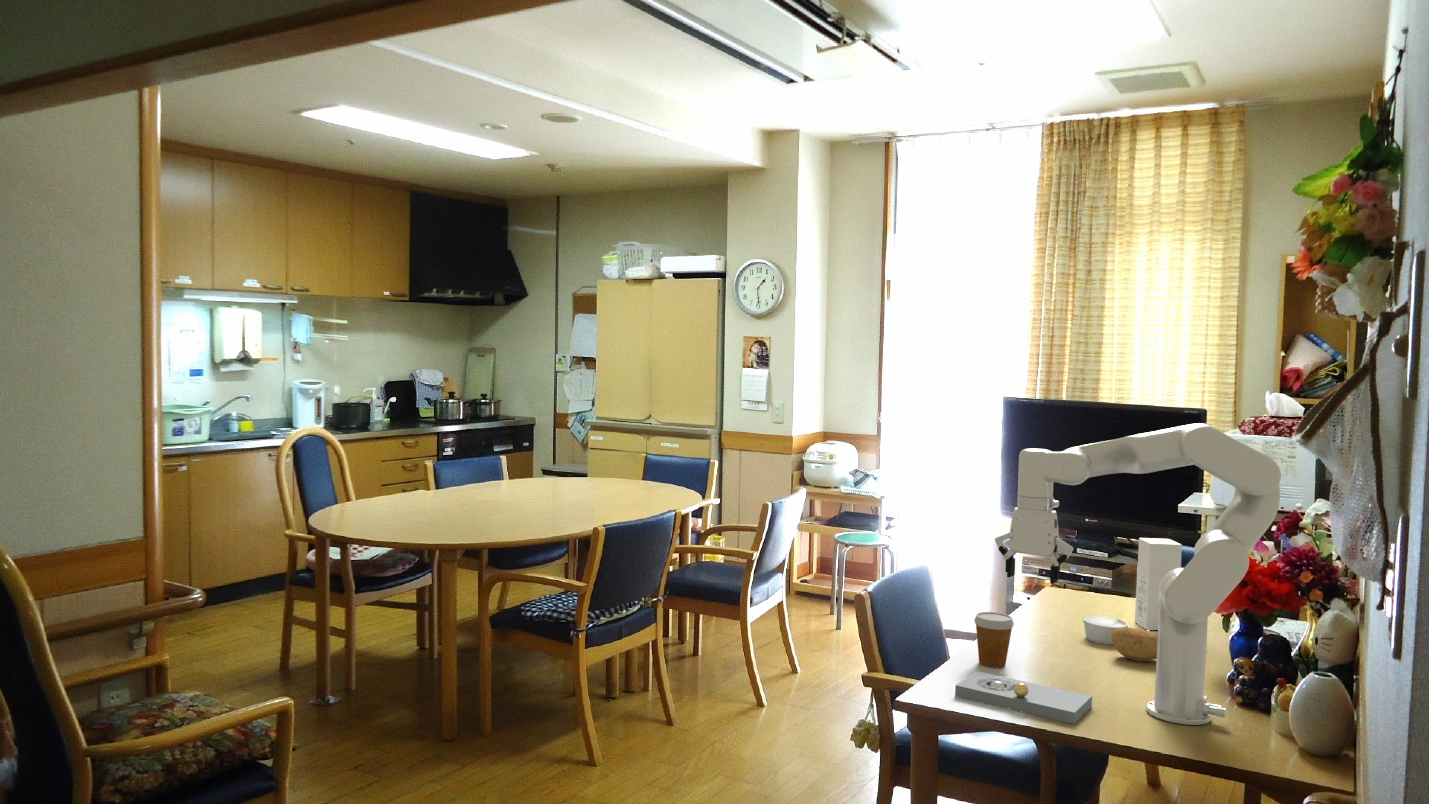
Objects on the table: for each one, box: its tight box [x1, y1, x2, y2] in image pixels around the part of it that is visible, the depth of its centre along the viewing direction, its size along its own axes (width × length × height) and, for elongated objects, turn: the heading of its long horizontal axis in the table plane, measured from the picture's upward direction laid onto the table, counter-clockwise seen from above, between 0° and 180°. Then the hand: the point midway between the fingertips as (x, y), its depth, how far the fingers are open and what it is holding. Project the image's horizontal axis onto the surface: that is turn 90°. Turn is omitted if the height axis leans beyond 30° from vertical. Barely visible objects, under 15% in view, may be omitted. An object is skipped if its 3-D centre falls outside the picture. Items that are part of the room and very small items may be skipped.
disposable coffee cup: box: [973, 611, 1015, 669], centre depth 245 cm, size 10×10×12 cm
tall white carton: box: [1134, 537, 1183, 630], centre depth 284 cm, size 9×9×25 cm
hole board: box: [954, 671, 1093, 725], centre depth 219 cm, size 26×13×2 cm, turn 54°
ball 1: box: [990, 681, 1005, 688], centre depth 222 cm, size 4×4×4 cm
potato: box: [1111, 626, 1158, 662], centre depth 253 cm, size 10×14×8 cm
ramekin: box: [1082, 615, 1129, 645], centre depth 270 cm, size 11×11×5 cm
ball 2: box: [1014, 683, 1028, 697], centre depth 215 cm, size 3×3×3 cm
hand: (1031, 579), depth 223 cm, fingers open, 9 cm apart
